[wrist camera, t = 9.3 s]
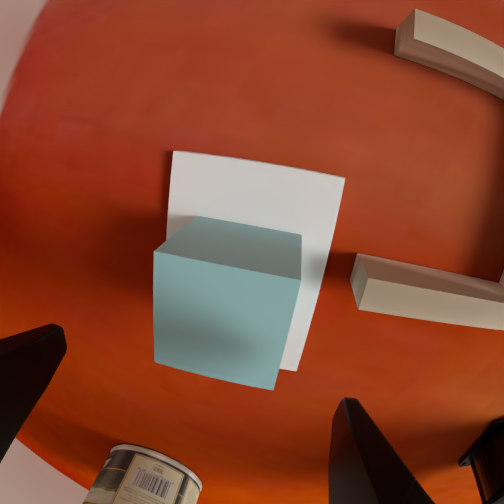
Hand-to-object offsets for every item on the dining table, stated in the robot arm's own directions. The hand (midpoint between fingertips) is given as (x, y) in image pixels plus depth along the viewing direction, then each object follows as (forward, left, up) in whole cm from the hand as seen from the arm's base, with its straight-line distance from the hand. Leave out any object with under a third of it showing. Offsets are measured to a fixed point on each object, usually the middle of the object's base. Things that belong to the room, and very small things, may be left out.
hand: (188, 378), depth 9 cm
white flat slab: (0, 0, -8) cm, 9 cm away
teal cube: (0, 0, -8) cm, 8 cm away
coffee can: (-25, +6, -9) cm, 27 cm away
